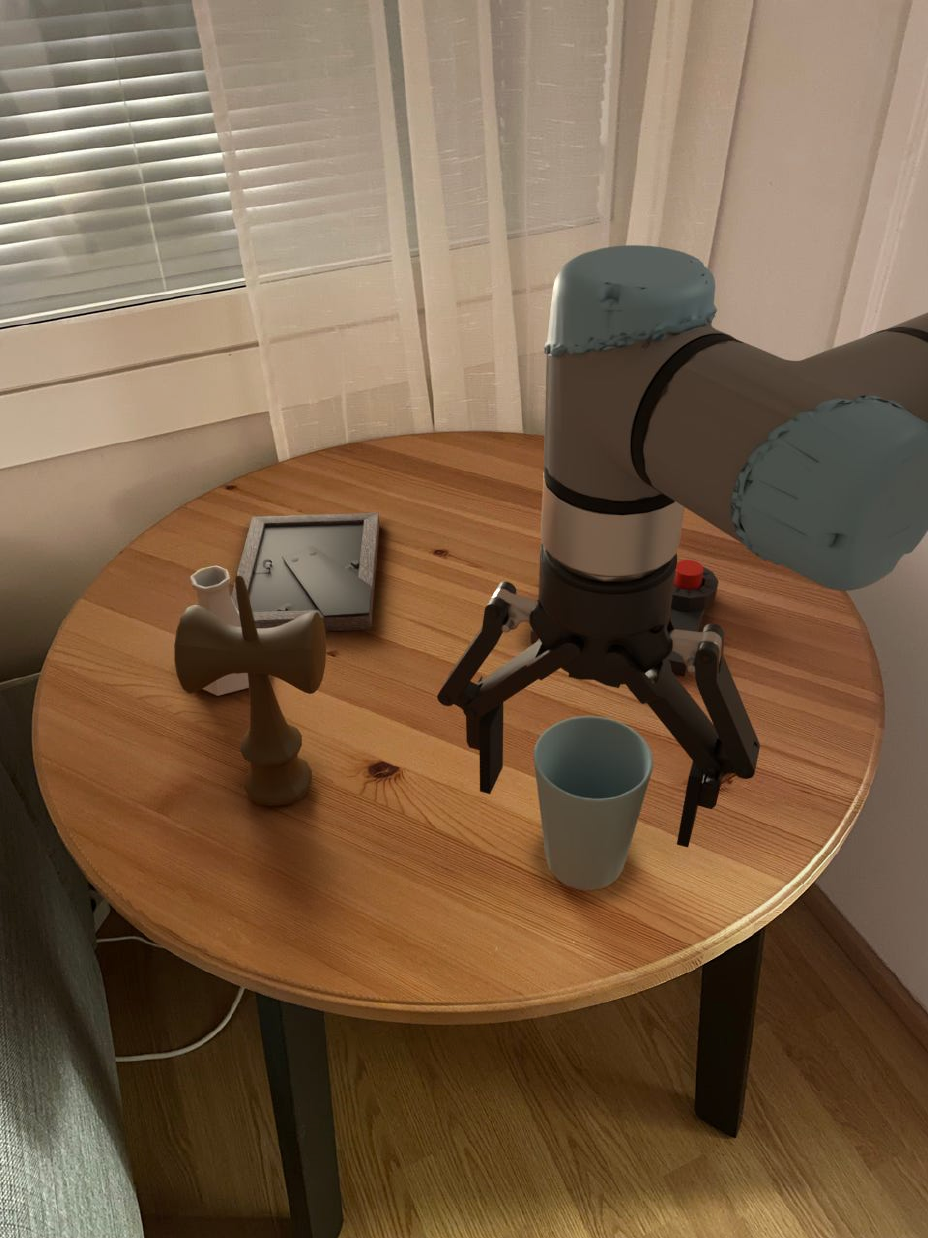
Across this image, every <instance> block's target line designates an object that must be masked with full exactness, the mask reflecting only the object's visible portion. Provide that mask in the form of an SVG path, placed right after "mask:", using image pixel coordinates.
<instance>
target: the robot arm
mask: <svg viewBox="0 0 928 1238" xmlns="http://www.w3.org/2000/svg"><path fill="white" fill-rule="evenodd" d="M715 294H716V280H715V276H714V274H713V272H711V270H710V269H709V268H708V267H706V266H705V265H704V263H703V261H701V260H700V258H697V257H695V256H694V255H691V254H688V253H686V252H684V251H680V250H677V249H673V248H667V247H662V246H654V245H639V244H637V245H636V244H630V245H629V244H628V245H627V244H625V245H614V246H607V247H602V248H598V249H594V250H591V251H586V252H583V253H581V254H579V255H577V256H575V257H573V258H572V259H570V260H569V261H568V262H566V263H565V264H564V265H563V266H562V267H561V269H559V272H558V273H557V275H556V277H555V278H554V282H553V286H552V293H551V303H550V311H549V320H548V323H549V324H548V330H547V340H546V342H545V343H544V347H543V349H544V354H545V355H546V362H545V363H546V364H545V365H546V366H545V367H546V368H545V369H546V370H545V377H546V378H545V405H544V406H545V407H544V438H543V442H544V446H543V476H542V477H543V479H542V495H541V496H542V498H541V515H540V541H541V544H540V549H539V570H538V572H539V573H538V599H537V600H535V599H532V598H530V597H525V596H522V595H520V594H517V587H516V586H515V585H514V584H513V583H511V582H509V581H505V580H504V581H501V582H499V583H498V585H497V587H496V588H495V590H494V592H493V594H492V595H491V597H490V599H489V601H488V602H487V604H486V606H485V607H484V613H483V619H482V626H481V627H480V629H479V630H478V632H477V633H476V634H475V635H474V637H473V639H472V640H471V641H470V642H469V644H468V646H467V647H466V649H465V650H464V652H463V653H462V654H461V656H460V658H459V659H458V660H457V662H456V663H455V664H454V666H453V668H452V669H451V671H450V673H449V674H448V676H447V678H446V679H445V681H444V682H443V685H442V686H441V688H440V690H439V692H438V693H437V695H436V698H437V701H438V702H439V703H440V704H441V705H443V706H445V707H452V706H453V705H454V706H456V707H458V708H460V709H461V710H462V712H463V714H464V716H465V735H466V738H465V741H466V743H467V746H468V748H470V749H473V750H477V751H478V752H479V792H480V793H483V794H486V795H492V791H493V789H494V788H495V784H496V783H497V781H498V779H499V776H500V774H501V772H502V770H503V768H504V703H505V702H506V701H508V700H509V699H511V698H512V697H513V696H515V695H516V694H518V693H521V691H522V690H524V689H525V688H527V687H529V686H530V685H532V684H533V683H535V682H537V680H539V681H543V680H544V679H545V680H546V678H548V677H549V676H551V675H552V674H554V673H556V672H557V671H558V670H560V669H562V670H563V671H564V672H566V673H567V674H568V678H572V679H576V680H582V681H583V680H584V681H596V682H597V683H599V684H602V685H605V686H607V687H611V688H615V689H620V686H623V685H625V686H626V687H627V688H628V690H629V691H630V692H631V693H632V694H633V696H634V697H635V698H636V699H637V701H638V702H639V703H640V704H642V705H648V707H649V708H650V709H651V710H652V712H653V713H654V714H655V716H656V717H657V718H658V719H659V720H660V721H661V723H662V724H663V726H664V727H665V728H666V729H667V730H668V732H669V733H670V735H672V737H673V738H674V739H675V740H676V742H677V743H678V745H679V746H680V747H681V748H682V749H683V750H684V752H685V753H686V754H687V756H688V757H689V758H690V760H691V761H692V763H691V767H690V771H689V774H688V777H687V785H686V790H685V795H684V800H683V807H682V813H681V816H680V817H681V818H680V823H679V829H678V834H677V840H676V845H677V846H680V847H685V848H688V849H689V846H690V841H691V838H692V834H693V830H694V825H695V822H696V818H697V813H698V808H700V807H701V808H703V809H704V808H705V809H707V810H708V809H709V810H713V809H714V808H715V807H716V806H717V802H718V800H719V799H718V798H719V794H720V790H721V786H722V781H723V777H724V776H726V775H729V774H735V776H737V777H738V778H740V779H743V780H749V779H752V778H753V777H754V776H755V773H756V768H757V764H758V759H759V754H760V748H761V743H760V740H759V738H758V736H757V734H756V732H755V729H754V726H753V724H752V722H751V719H750V716H749V715H748V712H747V710H746V708H745V705H744V702H743V699H742V697H741V694H740V693H739V691H738V688H737V686H736V683H735V680H734V677H733V676H732V673H731V671H730V669H729V666H728V663H727V661H726V659H725V656H724V653H725V651H724V648H725V630H724V628H723V627H722V626H721V625H719V624H717V623H713V622H712V623H707V624H705V625H704V626H703V629H702V631H699V632H695V631H686V630H678V629H675V627H674V625H673V623H672V621H671V618H670V609H671V602H672V595H673V588H674V581H675V574H676V567H677V562H678V554H677V553H678V551H679V547H680V544H681V538H682V531H683V523H684V517H685V516H684V515H685V509H686V510H688V511H690V512H692V513H693V514H695V515H696V516H697V517H699V518H700V519H703V520H704V521H706V522H708V523H709V524H711V525H712V526H714V527H715V528H717V529H718V530H720V531H722V532H723V533H725V534H727V535H728V536H729V537H730V538H733V539H735V540H736V541H738V542H739V543H741V544H742V545H744V546H746V549H747V550H748V551H749V552H751V553H752V554H755V556H757V557H758V558H760V559H761V560H763V561H769V562H771V563H772V564H774V565H776V566H779V565H781V566H783V567H784V568H787V569H789V570H790V571H793V572H794V573H796V574H798V575H800V576H802V577H804V578H806V579H808V580H809V581H812V582H813V583H815V584H817V585H819V586H821V587H823V588H825V589H829V590H833V591H840V592H841V591H842V592H846V591H847V592H849V591H855V590H861V589H863V588H866V587H868V586H871V585H873V584H875V583H877V582H879V581H880V580H882V579H884V578H885V577H887V576H888V575H889V574H891V573H892V572H893V571H894V569H895V568H896V566H897V565H898V563H899V561H900V560H901V559H902V558H903V557H904V556H905V555H907V554H911V553H913V551H915V549H916V548H917V547H918V545H919V544H920V543H921V542H922V540H923V539H924V537H925V536H926V534H927V532H928V312H924V313H923V314H920V315H918V316H915V317H913V318H910V319H908V320H905V321H903V322H900V323H898V324H896V325H893V326H891V327H888V328H885V329H880V330H878V331H875V332H873V333H870V334H868V335H866V336H863V337H861V338H858V339H855V340H852V341H849V342H847V343H844V344H840V345H837V346H835V347H833V348H830V349H827V350H824V351H822V352H819V353H817V354H815V355H811V356H809V357H806V358H804V359H801V360H789V359H785V358H782V357H780V356H778V355H775V354H773V353H771V352H768V351H766V350H763V349H761V348H758V347H756V346H754V345H751V344H749V343H747V342H744V341H742V340H739V339H738V338H735V337H734V336H732V335H730V334H728V333H726V332H724V331H721V330H719V329H717V328H714V327H713V325H712V323H713V320H714V319H715V318H716V313H717V312H718V309H717V307H716V305H715V296H716V295H715ZM524 622H527V623H529V625H530V628H531V630H532V629H533V631H534V632H535V634H536V635H537V636H538V638H539V640H538V641H537V642H536V643H532V644H531V645H530V646H529V647H527V648H526V649H524V650H523V651H522V652H520V653H519V654H517V655H516V656H514V657H513V658H511V659H510V660H508V661H507V662H506V663H504V664H503V665H501V667H499V668H497V669H496V670H494V671H493V672H491V673H490V674H489V675H487V676H486V677H484V678H483V676H480V677H479V678H478V681H477V682H476V683H475V682H473V681H472V680H473V678H474V677H475V675H476V674H477V672H478V671H479V670H480V668H481V667H482V665H484V663H485V661H486V659H487V658H488V657H489V655H490V654H491V653H492V651H493V650H494V649H495V647H496V646H497V644H498V642H499V641H500V639H501V637H502V635H503V634H504V633H505V634H507V633H509V632H510V631H514V630H516V629H517V628H518V627H519V625H520V624H521V623H524ZM671 652H674V653H677V654H679V655H680V656H681V657H682V659H683V661H684V664H685V665H686V666H687V667H686V669H687V671H686V672H687V673H689V674H694V677H695V678H694V679H695V684H696V687H697V690H698V693H699V695H700V697H701V699H702V702H703V704H704V706H705V708H706V711H707V713H708V715H709V717H708V716H707V714H706V713H705V711H704V710H703V709H702V708H701V707H700V705H699V704H698V703H697V701H696V700H695V699H694V697H692V696H691V694H690V693H689V691H688V690H687V689H686V688H685V686H684V685H683V683H682V682H681V681H680V680H679V678H678V677H677V676H676V674H675V673H673V672H672V670H671V664H670V662H669V660H668V658H667V657H668V656H669V655H670V653H671Z"/></svg>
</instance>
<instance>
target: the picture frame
mask: <svg viewBox="0 0 928 1238" xmlns="http://www.w3.org/2000/svg"><path fill="white" fill-rule="evenodd" d="M379 535H380V516H379V512H355V513H353V512H352V513H349V512H348V513H324V514H323V513H322V514H293V515H291V514H290V515H288V514H287V515H263V516H262V515H261V516H257V515H256V516H251V520H250V524H249V529H248V531H247V535H246V539H245V543H244V547H243V550H242V554H241V557H240V561H239V565H238V569H237V572H236V576H237V575H241V576H242V577H243V579H244V581H245V584H246V587H247V591H248V595H249V599H250V603H251V607H252V612H253V616H254V620H255V625H256V628H258V629H262V628H273V627H277V626H281V625H283V624H285V623H288V622H290V621H292V620H294V619H296V618H298V617H300V616H302V615H304V614H306V613H309V612H312V611H316V612H318V613H319V615H320V617H321V618H322V620H323V624H324V628H325V632H346V631H347V632H351V631H372V623H373V610H374V600H375V599H374V597H375V584H376V575H377V574H376V573H377V560H378V549H379V537H380V536H379ZM230 596H231V598H232V600H233V602H234V605H235V607H236V608H237V610H238V603H237V597H236V589H235V582H234V583H233V587H232V591H231V593H230ZM238 611H239V610H238Z"/></svg>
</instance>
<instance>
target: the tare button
mask: <svg viewBox="0 0 928 1238" xmlns="http://www.w3.org/2000/svg"><path fill="white" fill-rule="evenodd" d="M703 567H704V566H703V565H702V564H701V563H700V562H699V561H696V560H693V559H682V560H678V561H677V567H676V574H675V581H674V585H675V586H676V587H678V588H680V589H685V590H694V589H698V588H699V587H700V586H701V583H702V576H703Z"/></svg>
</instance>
